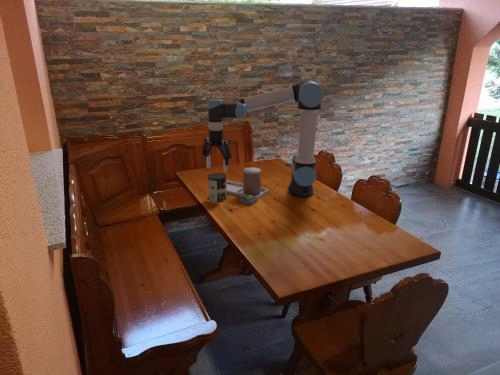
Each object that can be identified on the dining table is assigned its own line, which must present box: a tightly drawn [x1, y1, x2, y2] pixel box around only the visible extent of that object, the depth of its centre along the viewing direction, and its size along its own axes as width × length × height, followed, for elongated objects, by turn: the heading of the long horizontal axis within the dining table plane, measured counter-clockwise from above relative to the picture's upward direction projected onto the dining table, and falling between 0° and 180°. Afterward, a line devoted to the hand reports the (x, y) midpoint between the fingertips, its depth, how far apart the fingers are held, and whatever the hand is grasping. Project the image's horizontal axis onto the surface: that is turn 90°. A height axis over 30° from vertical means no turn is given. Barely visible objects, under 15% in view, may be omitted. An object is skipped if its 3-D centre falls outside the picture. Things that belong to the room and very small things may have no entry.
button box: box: [239, 197, 259, 206], centre depth 202 cm, size 7×7×3 cm
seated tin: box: [242, 166, 262, 196], centre depth 211 cm, size 10×10×14 cm
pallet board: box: [226, 180, 270, 200], centre depth 217 cm, size 29×15×2 cm, turn 60°
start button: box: [245, 195, 253, 201], centre depth 201 cm, size 4×4×3 cm
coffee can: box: [207, 172, 228, 204], centre depth 205 cm, size 10×10×14 cm
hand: (216, 169), depth 201 cm, fingers open, 10 cm apart
